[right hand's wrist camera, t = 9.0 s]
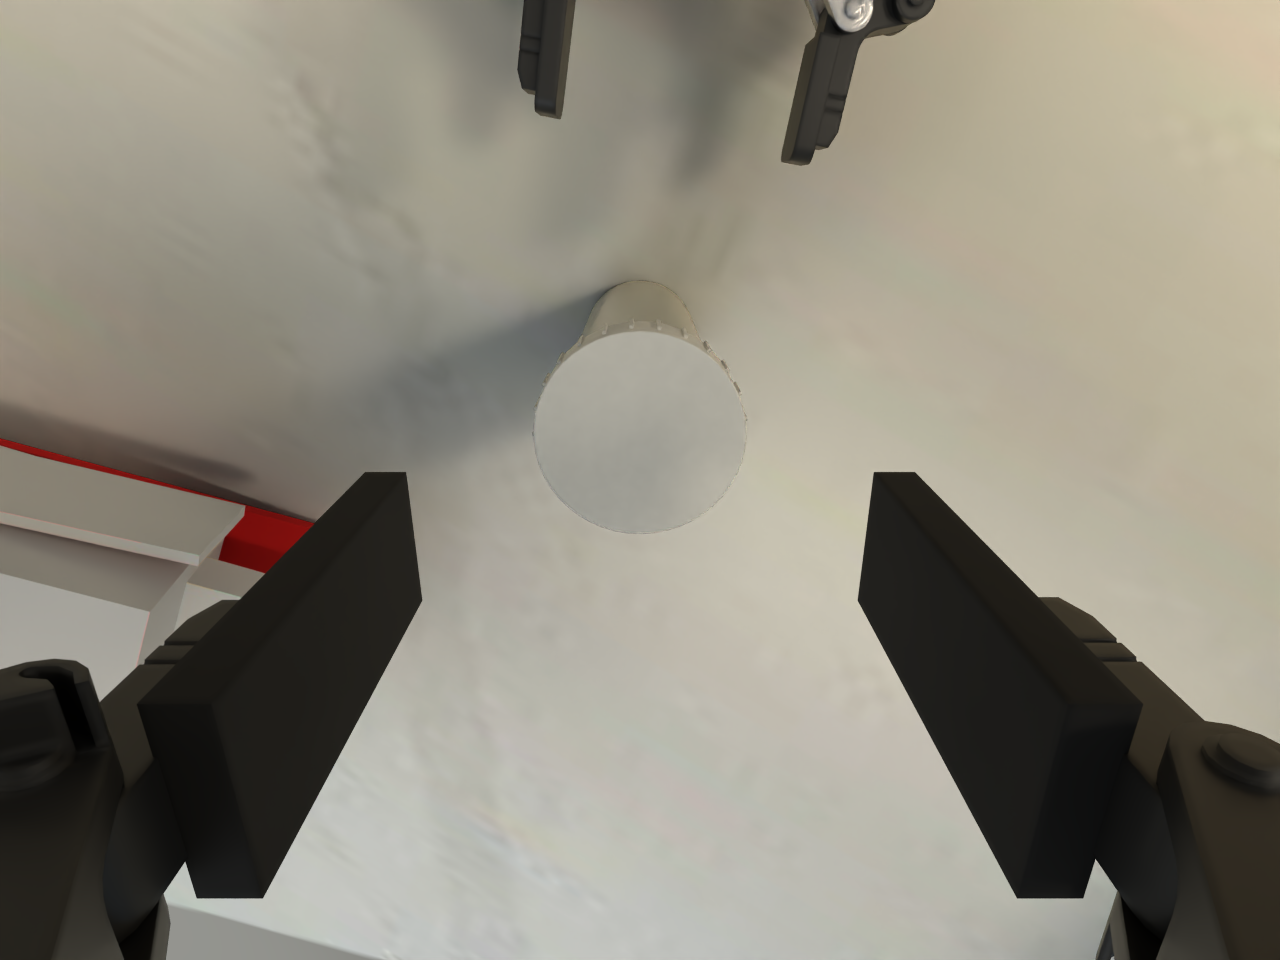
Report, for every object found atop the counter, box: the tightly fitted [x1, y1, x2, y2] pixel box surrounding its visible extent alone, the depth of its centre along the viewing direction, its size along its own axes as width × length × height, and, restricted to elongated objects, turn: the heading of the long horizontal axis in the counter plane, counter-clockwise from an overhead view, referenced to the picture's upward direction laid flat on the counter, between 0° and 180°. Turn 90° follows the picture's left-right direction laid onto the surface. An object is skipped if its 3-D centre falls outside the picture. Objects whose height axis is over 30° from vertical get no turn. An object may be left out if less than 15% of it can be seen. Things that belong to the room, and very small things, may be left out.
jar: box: [581, 280, 701, 341], centre depth 27 cm, size 5×5×15 cm
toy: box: [0, 438, 315, 702], centre depth 32 cm, size 12×13×30 cm
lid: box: [533, 318, 747, 534], centre depth 20 cm, size 6×6×2 cm
